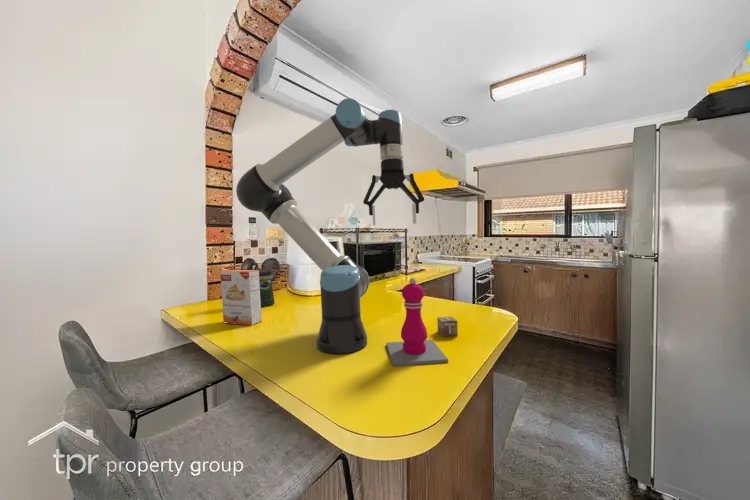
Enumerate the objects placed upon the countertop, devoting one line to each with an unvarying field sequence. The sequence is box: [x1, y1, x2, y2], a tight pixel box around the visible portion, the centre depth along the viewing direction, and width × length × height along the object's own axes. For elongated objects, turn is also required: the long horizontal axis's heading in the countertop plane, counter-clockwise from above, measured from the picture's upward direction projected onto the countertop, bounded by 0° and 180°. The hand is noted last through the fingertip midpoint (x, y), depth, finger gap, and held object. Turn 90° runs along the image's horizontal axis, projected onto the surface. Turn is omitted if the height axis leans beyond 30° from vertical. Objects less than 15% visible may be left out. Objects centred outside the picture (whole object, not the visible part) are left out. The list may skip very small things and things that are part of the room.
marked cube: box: [436, 316, 459, 338], centre depth 93 cm, size 5×5×5 cm
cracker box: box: [220, 269, 262, 326], centre depth 113 cm, size 14×6×21 cm, turn 71°
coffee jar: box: [254, 267, 275, 308], centre depth 142 cm, size 10×8×19 cm
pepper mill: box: [400, 277, 428, 355], centre depth 78 cm, size 7×7×20 cm
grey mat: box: [385, 339, 449, 367], centre depth 79 cm, size 14×14×1 cm
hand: (394, 224), depth 96 cm, fingers open, 13 cm apart
